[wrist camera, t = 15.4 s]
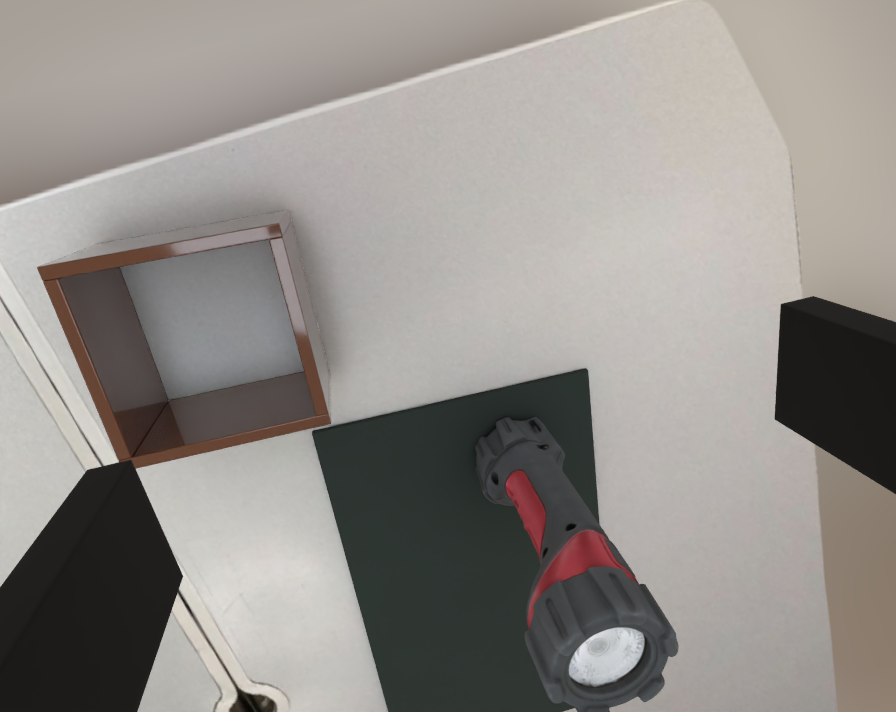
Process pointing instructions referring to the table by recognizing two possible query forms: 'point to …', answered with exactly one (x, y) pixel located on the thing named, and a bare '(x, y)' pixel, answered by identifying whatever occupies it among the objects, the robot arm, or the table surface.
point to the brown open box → (133, 369)
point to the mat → (449, 544)
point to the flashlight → (575, 579)
